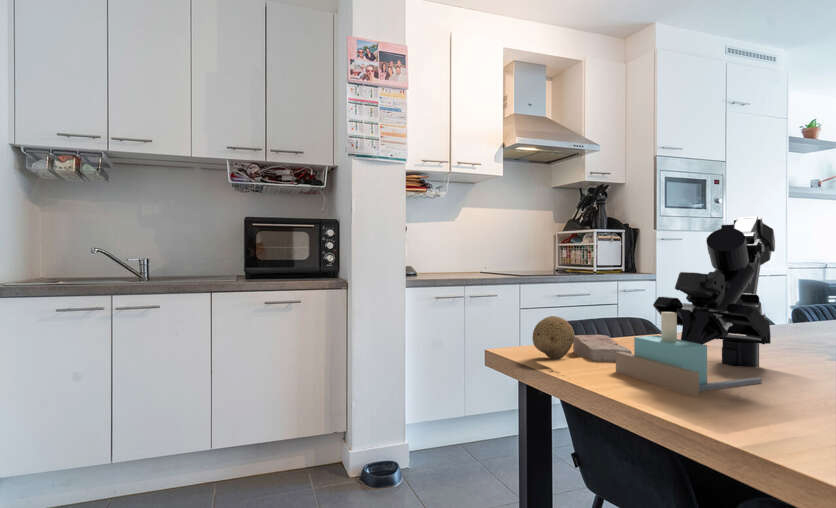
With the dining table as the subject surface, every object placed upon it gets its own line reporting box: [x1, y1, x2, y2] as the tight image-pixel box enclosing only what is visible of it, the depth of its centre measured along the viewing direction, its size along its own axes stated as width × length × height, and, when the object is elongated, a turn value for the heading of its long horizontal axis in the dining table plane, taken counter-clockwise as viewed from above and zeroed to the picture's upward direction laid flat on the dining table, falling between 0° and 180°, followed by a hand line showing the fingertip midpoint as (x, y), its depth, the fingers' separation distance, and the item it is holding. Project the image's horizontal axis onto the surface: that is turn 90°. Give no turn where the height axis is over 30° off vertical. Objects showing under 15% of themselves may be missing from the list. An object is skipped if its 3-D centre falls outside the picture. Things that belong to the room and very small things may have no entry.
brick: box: [572, 334, 633, 363], centre depth 101 cm, size 16×8×5 cm, turn 176°
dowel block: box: [633, 312, 708, 384], centre depth 79 cm, size 6×10×12 cm, turn 19°
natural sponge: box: [532, 315, 575, 361], centre depth 101 cm, size 9×9×10 cm
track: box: [615, 352, 763, 398], centre depth 81 cm, size 19×16×5 cm
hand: (682, 350), depth 80 cm, fingers closed, pressing on dowel block
